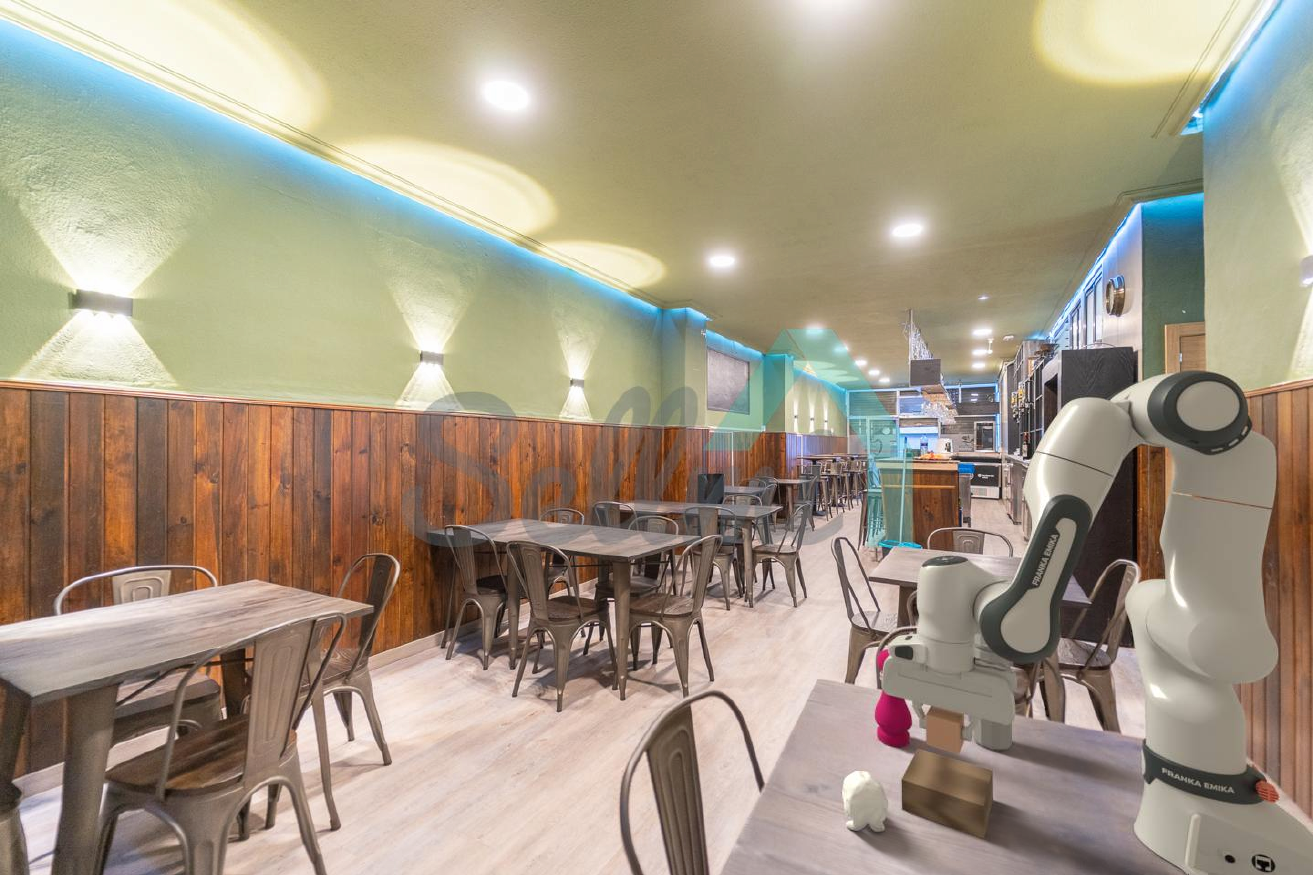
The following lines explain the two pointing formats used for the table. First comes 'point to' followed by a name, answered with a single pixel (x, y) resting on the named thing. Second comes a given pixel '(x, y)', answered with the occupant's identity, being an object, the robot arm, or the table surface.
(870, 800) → the penguin figurine
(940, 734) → the terracotta cube
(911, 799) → the walnut stand
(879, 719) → the pepper mill
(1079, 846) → the table surface
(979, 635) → the water bottle
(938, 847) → the table surface
